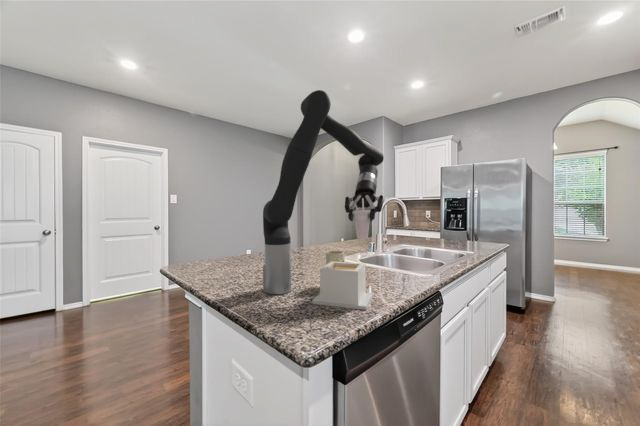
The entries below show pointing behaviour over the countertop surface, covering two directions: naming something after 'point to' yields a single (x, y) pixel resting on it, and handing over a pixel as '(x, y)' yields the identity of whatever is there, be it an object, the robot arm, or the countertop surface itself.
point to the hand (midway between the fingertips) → (360, 219)
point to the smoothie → (362, 222)
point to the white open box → (343, 286)
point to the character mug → (334, 256)
